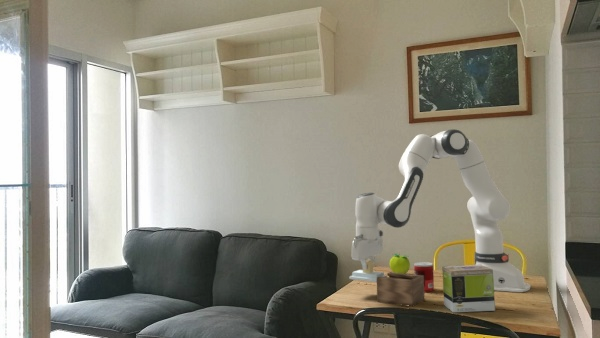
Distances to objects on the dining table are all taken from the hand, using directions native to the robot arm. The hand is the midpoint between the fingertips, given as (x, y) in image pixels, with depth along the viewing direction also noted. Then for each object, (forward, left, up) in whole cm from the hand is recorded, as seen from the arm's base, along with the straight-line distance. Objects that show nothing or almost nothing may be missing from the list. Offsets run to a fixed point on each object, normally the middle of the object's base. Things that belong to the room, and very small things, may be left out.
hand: (367, 268), depth 195 cm
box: (-14, 0, -11) cm, 18 cm away
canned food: (-15, -21, -11) cm, 28 cm away
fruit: (+7, -45, -11) cm, 47 cm away
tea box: (-39, -2, -12) cm, 41 cm away
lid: (0, 0, -4) cm, 4 cm away
